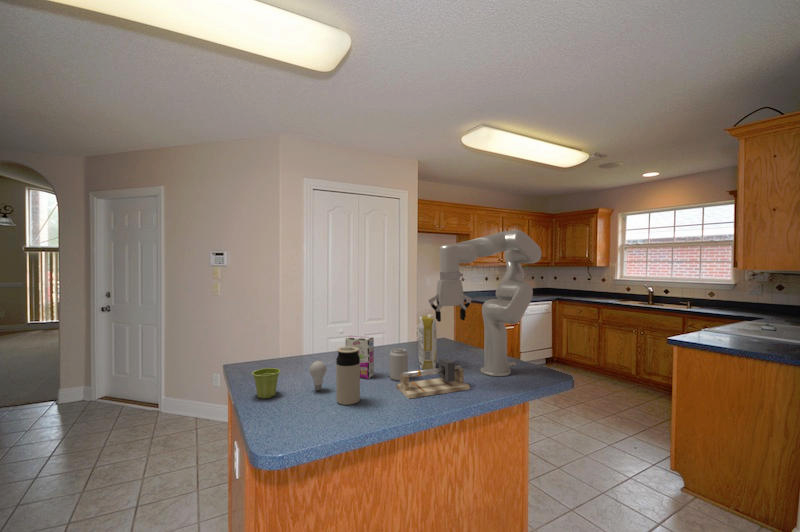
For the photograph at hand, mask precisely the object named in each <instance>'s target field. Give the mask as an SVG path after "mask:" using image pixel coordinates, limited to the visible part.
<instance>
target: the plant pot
mask: <svg viewBox="0 0 800 532" xmlns="http://www.w3.org/2000/svg"><path fill="white" fill-rule="evenodd" d="M280 373H281V370H280V369H279V368H274V367H268V368H260V369H257V370H254V371H253V372H251V375H252V376H253V379H254V384H255V390H256V396H257V398H260V399H270V398H272V397H274V396H276V393H277V384H278V378H279V376H280V375H279V374H280Z"/></svg>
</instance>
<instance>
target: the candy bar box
mask: <svg viewBox="0 0 800 532" xmlns="http://www.w3.org/2000/svg"><path fill="white" fill-rule="evenodd" d="M374 341H375V340H374V337H372V336H371V337H370V336H361V335H360V336H357V335H349V336H346V337H345V347H357V348H359V351H358V355H359V357H360V379H366V380H370V379H371V378H373V377H374V375H375V371H374V370H375V365H374V364H375V363H374V361H375V360H374V359H375V357H374V354H375V353H374V350H375V349H374V346H375V345H374V343H375V342H374Z"/></svg>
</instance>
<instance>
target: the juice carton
mask: <svg viewBox="0 0 800 532" xmlns="http://www.w3.org/2000/svg"><path fill="white" fill-rule="evenodd" d="M418 364H419V368H420V370H426V369H434V368H436V366H437V320H436V318H435V317H434V314H427V315H424V316H423V315H421V316H419V319H418Z"/></svg>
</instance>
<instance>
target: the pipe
mask: <svg viewBox="0 0 800 532" xmlns="http://www.w3.org/2000/svg"><path fill="white" fill-rule="evenodd" d="M459 369H463V368H462V366H461V364H460V365H455V371H458V370H459ZM439 373H445V367H442V368H439V367H438V368H437V367H435V368H434V369H416V370H411V371H410V370H409V371H408V372H403V373H402V375H404V376H409V378H414V377H422V376H430V375H436V374H437V375H439Z"/></svg>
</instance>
